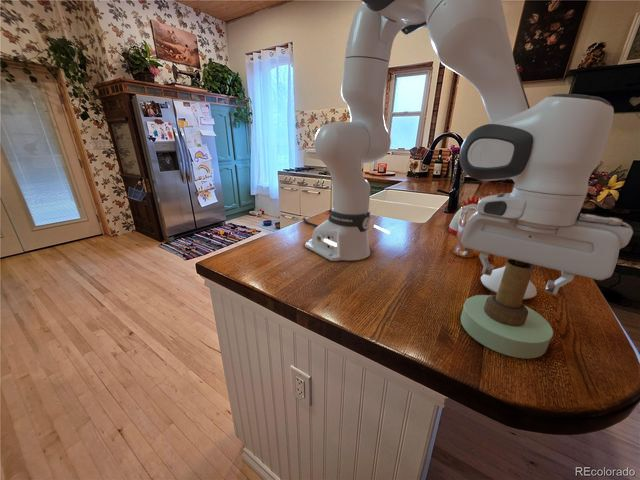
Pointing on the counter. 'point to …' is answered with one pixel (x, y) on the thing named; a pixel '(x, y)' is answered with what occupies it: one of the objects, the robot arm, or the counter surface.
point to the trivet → (506, 331)
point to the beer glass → (462, 221)
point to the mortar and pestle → (511, 294)
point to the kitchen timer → (455, 219)
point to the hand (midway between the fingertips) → (516, 282)
